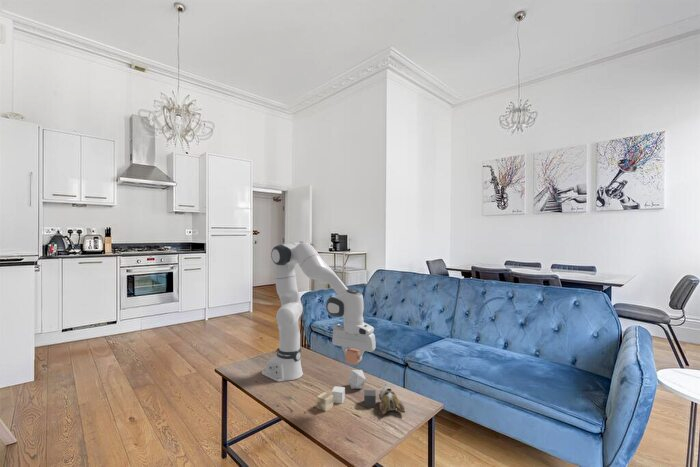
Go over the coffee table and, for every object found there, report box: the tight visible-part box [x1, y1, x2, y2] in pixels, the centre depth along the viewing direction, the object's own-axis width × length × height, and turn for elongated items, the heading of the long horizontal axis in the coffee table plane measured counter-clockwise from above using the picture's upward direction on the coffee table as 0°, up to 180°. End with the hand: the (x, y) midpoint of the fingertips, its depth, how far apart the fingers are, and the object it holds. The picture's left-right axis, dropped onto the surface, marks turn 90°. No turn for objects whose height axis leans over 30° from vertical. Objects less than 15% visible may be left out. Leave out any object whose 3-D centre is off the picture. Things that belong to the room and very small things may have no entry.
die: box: [348, 369, 367, 390], centre depth 157 cm, size 8×9×10 cm
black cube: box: [363, 389, 377, 408], centre depth 142 cm, size 5×5×5 cm
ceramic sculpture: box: [378, 383, 406, 415], centre depth 139 cm, size 11×9×15 cm
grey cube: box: [331, 385, 346, 404], centre depth 145 cm, size 5×5×5 cm
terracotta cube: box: [345, 348, 362, 366], centre depth 141 cm, size 5×5×5 cm
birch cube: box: [316, 391, 334, 412], centre depth 139 cm, size 5×5×5 cm
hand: (353, 357), depth 141 cm, fingers closed on terracotta cube, 5 cm apart
